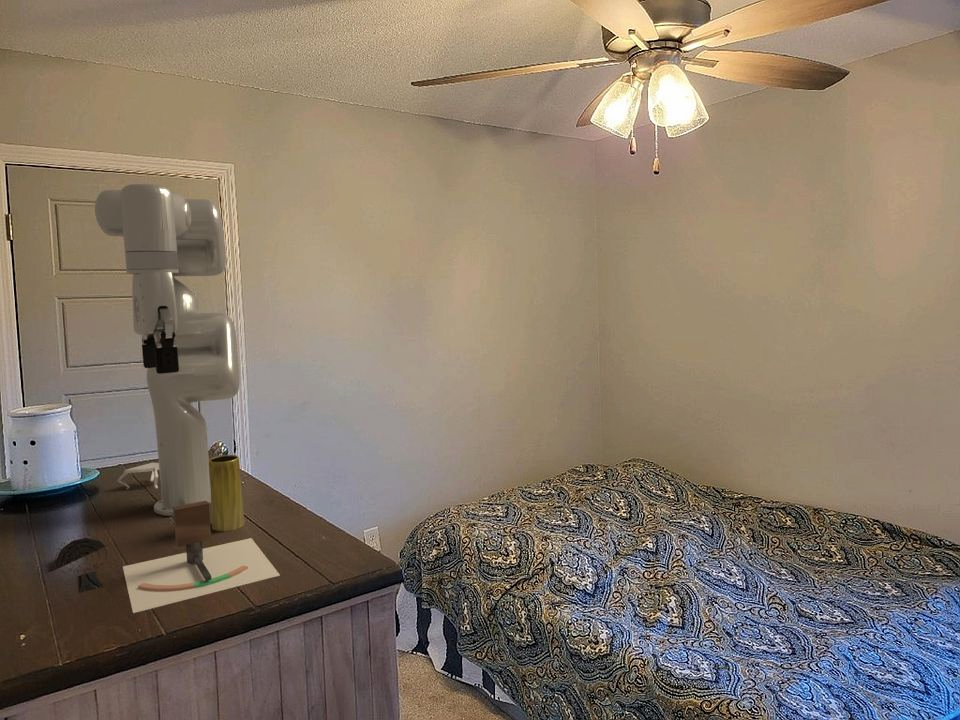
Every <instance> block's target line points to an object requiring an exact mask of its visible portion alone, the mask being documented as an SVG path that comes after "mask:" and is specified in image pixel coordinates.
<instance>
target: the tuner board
mask: <svg viewBox="0 0 960 720" xmlns="http://www.w3.org/2000/svg"><path fill="white" fill-rule="evenodd" d="M202 549H203V560H202V562H203V563H204V565H205V567H206V568H207V570H208V571H209V573H210V574H211V579H212V580H208V581H206V580H205V579H204V577H203V575H202V574H201V572H200V570H199V569H198V567H197V565H196V564H195V563H188V562H187V554H186V552H182V553H178V554H173V555H168V556H165V557H159V558H156V559H150V560H146V561H142V562H136V563H133V564H129V565H123V566H122V570H123V573H124V578H125V583H126V587H127V592H128V596H129V602H130V606H131V611H132V613H133V614H136V613H140V612H144V611H148V610H152V609H155V608H160V607H164V606H167V605H172V604H175V603H179V602H182V601H186V600H190V599H195V598H198V597H203V596H206V595H210V594H214V593H218V592H221V591H226V590H229V589H234V588H237V587H241V586H245V585H249V584H253V583H257V582H260V581H264V580H268V579H272V578H276V577H280V576H281V575H280V572H278V569H276V567H275V566H273V564H272V562H270V560H269V559H268V557H266V555H265V553H263V551H262V550H261V548H260V547H259V546H258V545H257V544H256V542H255V541H254V539H253V538H252V537H251V538H245V539H241V540H235V541H231V542H227V543H223V544H218V545H213V546H209V547H204V548H202Z"/></svg>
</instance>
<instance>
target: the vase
mask: <svg viewBox="0 0 960 720" xmlns="http://www.w3.org/2000/svg"><path fill="white" fill-rule="evenodd" d="M209 476H210V488H211V503H210V505H211V506H210V507H211V508H210V509H211V528H212V529H211V531H212V530H213V531H216V532H229V531H234V530H238V529H241V528H242V527H243V526H245V515H244V513H245V512H244V511H245V509H244V501H243V491H242V490H243V487H242V477H241V465H240V457H239V456H238V455H235V454H223V455H218V456H214V457H211V458H209Z"/></svg>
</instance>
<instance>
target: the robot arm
mask: <svg viewBox="0 0 960 720" xmlns="http://www.w3.org/2000/svg"><path fill="white" fill-rule="evenodd" d="M94 215H95V218H96V222H97V224H98V226H99V228H100V230H102V232H103V233H104V234H105V235H107V236H110V237H123V247H124V257H125V268H126V270H125V271H126V274H128V275H129V274H130V275H131V274H132V282H131V283H132V285H131V289H132V293H131V294H132V296H131V297H132V312H133V316H132V317H133V330H134V332H135V334H137V335H140V336H141V349H142V361H143V362H142V363H143V364H142V365H143V368H144V369H147V370H146V383H147V384H146V385H147V388H148V392H149V396H150V399H151V400H150V401H151V403H152V409H153V416H154V424H155V425H154V426H155V436H156V445H157V446H156V447H157V459H158V463H159V470H158V471H159V482H160V492H161V493H160V495H161V496H160V497H161V499H159V500H158V501H156V502H155V503H154V504H153V511H154V513H156V514H158V515H160V516H167V517H168V516H169V517H172V516H173V517H174V514H173V507H175V506H180V505H185V504H191V503H196V502H201V501H207V502H208V503H209V504H211V488H210V476H209V459H210V457H209V456H210V455H209V445H208V431H207V423H206V419H205V417H204V416H203V415H202V413H201V412H200V411H199V410H198V409H197V408H195V407H194V406H193V405H192V403H197V402H207V401H219V400H227V399H232V398H233V397H235V396H236V395H237V394H238V392H239V390H240V384H241V383H240V364H239V355H238V354H239V352H238V339H237V332H236V326H235V323H234V321H233V319H232V317H230V316H229V315H228V314H225V313H222V312H220V313H219V312H199V301H198V298H197V296H196V294H195V293H194V292H193V291H192V290H191V289H190V288H189V287H188V286H187V285H185V284H184V283H183V282H181V281H180V280H178V279H177V278H175V277H210V276H211V277H212V276H214V277H215V276H219V275H220V274H222V273H223V272H224V270H226V269H225V268H226V264H227V255H226V252H227V251H226V245H225V244H226V243H225V232H224V225H223V219H222V218H223V217H222V215H221V212H220V210H219V208H218V206H217V205H216V204H215V203H214V202H213V201H211V200H209V199H197V198H195V199H194V198H185V197H183V196H182V195H181V194H180V193H178V192H175V191H171V190H170V189H169V188H168V187H166V186H163V185H159V184H152V183H151V184H150V183H149V184H148V183H134V184H133V183H132V184H127V185H124V186H123V187H122V188H121V189H105V190H102V191H101V192H99V194H98V195H97V197H96V200H95V203H94Z"/></svg>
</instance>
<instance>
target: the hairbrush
mask: <svg viewBox="0 0 960 720" xmlns="http://www.w3.org/2000/svg"><path fill="white" fill-rule="evenodd" d="M77 536H78V537H80V538H79V539H75V537H74V536H72V537H70V539H72V538H73V539H74V540H72V541H70V539H69V538H67V539H68V540H69V543H67V544H66V542H64V543H63V545H64V547H62V546H63V545H62V544H61V545H60V546H61V547H62V548H58V550H59V552H58V551H57V552H56V553H57V554H55V556H56V557H55V560H54V571H57V570H58V569H59V571H61V572H63V573H65V570H61V569H60V568H63V567H66V565H68V564H69V565H72V563H73V562H76V563H79V561H78V560H80V559H82V558H84V557H85V558H86V560H89V559H88V556H89V555H91V556H93V553H95V552H97V554H98V557H101V555H100V553H99V552H98V551H99V550H102V549H104V550H105V555H106V556H107V555H108V554H107V553H108V552H107V549H106V545H105V544H104V543H103V542H102V541H101V540H98V537H95V539H94V538H93V539H92V538H88V537H85V534H82V536H83V537H82V536H81V535H77ZM87 536H89V537H91V535H90V534H87ZM106 560H107V558H105V561H106ZM98 563H99V562H98ZM98 563H96V564H93V568H94V569H96V568H98ZM90 564H91V563H89V564H88V565H90ZM99 565H100V566H102V565H104V562H101V563H100V564H99ZM78 567H81V565H78ZM91 568H92V567H91V566H89V569H88V567H86V568H84V570H83V571H84V572H85V573H84V574H81V575H78V576H77V577H78V578H81V579H80V580H81V585H80V589H79V591H78V593H79V594H81V593H84V592H89V591H93V590H97V589H98V588H99V589H100V588H104V586H103V584H102V583H101V581H100V580H98V579H99V578H98V577H97V575H96V573H97V571H91V572H88V573H86V570H87V571H90V570H91ZM66 569H68V570H71V571H73V573H75V571H77V573H79V574H80V569H75V571H74V570H73V568H68V567H66ZM68 570H66V572H67V573H68Z"/></svg>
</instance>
